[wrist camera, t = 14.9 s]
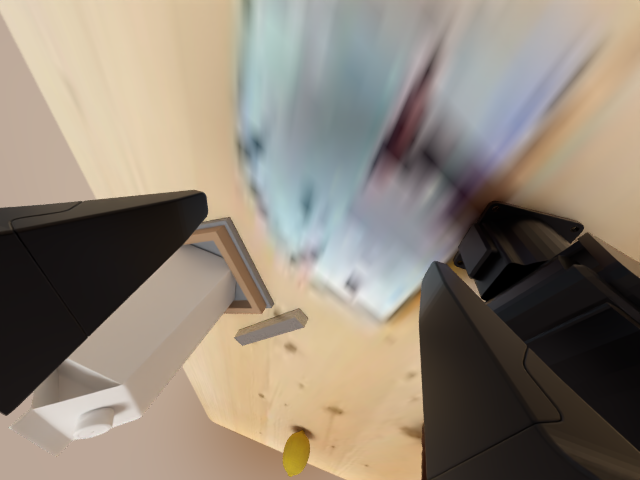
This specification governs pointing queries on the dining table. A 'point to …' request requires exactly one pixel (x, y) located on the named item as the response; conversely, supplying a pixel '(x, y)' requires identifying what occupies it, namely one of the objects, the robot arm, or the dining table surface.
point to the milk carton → (131, 352)
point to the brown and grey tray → (234, 265)
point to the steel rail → (272, 327)
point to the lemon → (296, 453)
